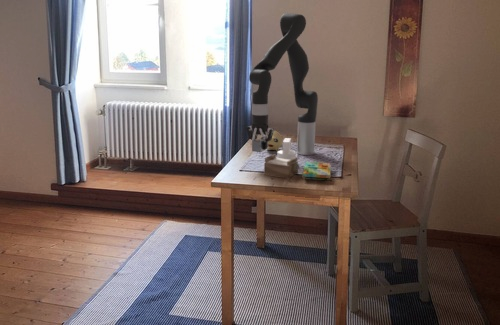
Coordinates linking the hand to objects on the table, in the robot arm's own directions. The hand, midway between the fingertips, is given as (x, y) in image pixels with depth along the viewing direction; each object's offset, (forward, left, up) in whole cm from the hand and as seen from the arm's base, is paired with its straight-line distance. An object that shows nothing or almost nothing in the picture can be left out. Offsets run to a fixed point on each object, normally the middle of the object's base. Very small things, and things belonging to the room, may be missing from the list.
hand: (259, 148), depth 227 cm
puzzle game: (-1, +29, -10) cm, 30 cm away
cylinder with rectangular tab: (-13, +8, -10) cm, 18 cm away
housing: (0, 0, -1) cm, 1 cm away
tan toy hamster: (-35, -10, -10) cm, 37 cm away
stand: (+4, +13, -9) cm, 17 cm away
